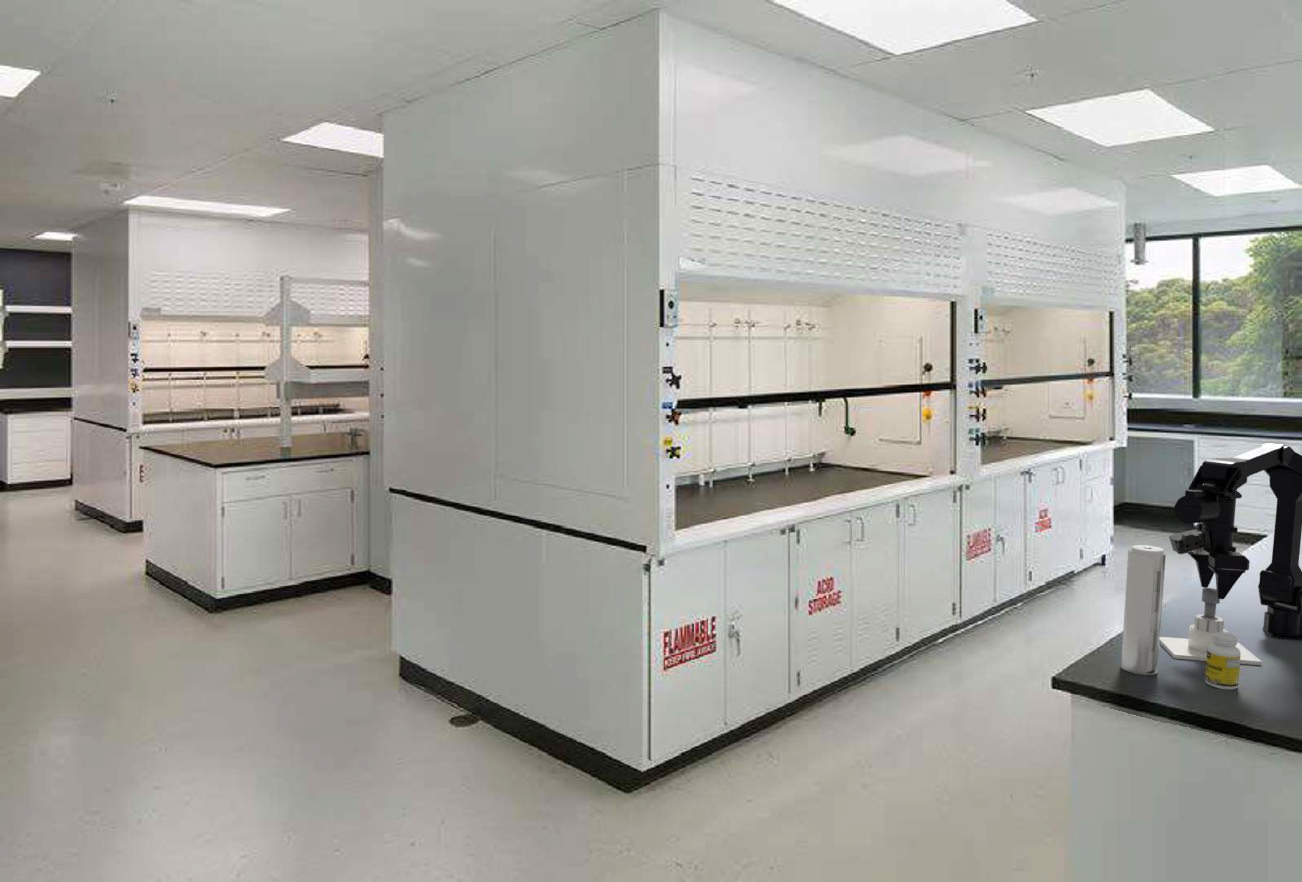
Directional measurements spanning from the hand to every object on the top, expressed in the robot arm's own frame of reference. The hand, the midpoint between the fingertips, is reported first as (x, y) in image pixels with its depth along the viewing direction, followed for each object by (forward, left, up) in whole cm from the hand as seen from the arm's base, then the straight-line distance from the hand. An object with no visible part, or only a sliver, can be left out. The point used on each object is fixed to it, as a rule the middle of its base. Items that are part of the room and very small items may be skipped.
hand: (1212, 593), depth 188 cm
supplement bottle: (+4, +20, -13) cm, 24 cm away
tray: (0, 0, -13) cm, 13 cm away
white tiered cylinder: (0, 0, -13) cm, 13 cm away
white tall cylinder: (+17, +15, -13) cm, 26 cm away
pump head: (0, 0, -5) cm, 5 cm away
